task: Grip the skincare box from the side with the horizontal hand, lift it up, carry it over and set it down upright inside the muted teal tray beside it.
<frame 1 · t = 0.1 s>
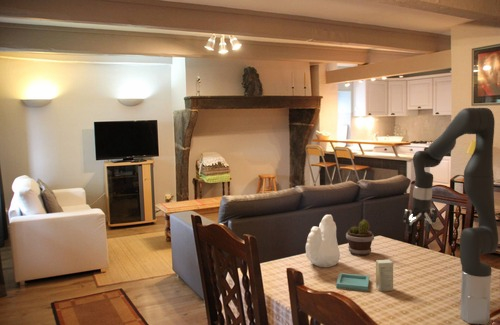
hand: (418, 231, 184), 22 cm above the table, tool pointing down, fingers open, 8 cm apart
skincare box: (384, 289, 178), on the table
teal tray: (353, 284, 184), on the table
flowerpot: (359, 253, 227), on the table
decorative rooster: (318, 266, 208), on the table
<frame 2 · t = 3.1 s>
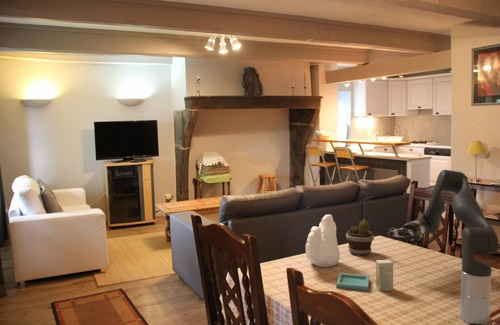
hand: (397, 237, 184), 20 cm above the table, tool horizontal, fingers open, 8 cm apart
nothing on the table moved.
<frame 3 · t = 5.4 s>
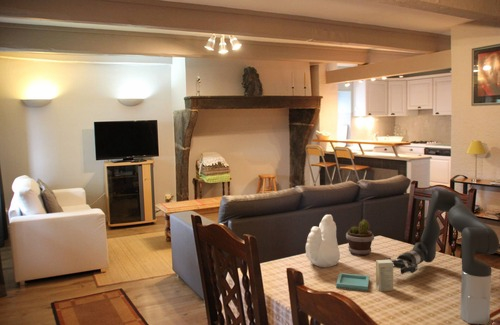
hand: (392, 269, 182), 7 cm above the table, tool horizontal, fingers open, 8 cm apart
nothing on the table moved.
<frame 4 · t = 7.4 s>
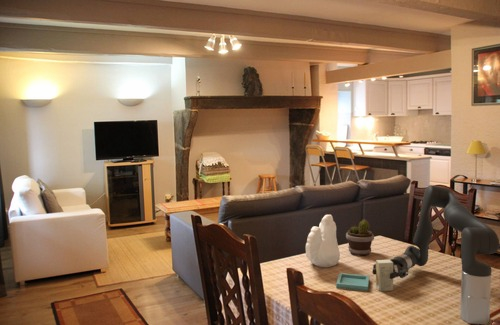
hand: (382, 274, 176), 7 cm above the table, tool horizontal, fingers closed on skincare box, 7 cm apart
skincare box: (384, 289, 178), on the table, touching gripper
everything else where it was.
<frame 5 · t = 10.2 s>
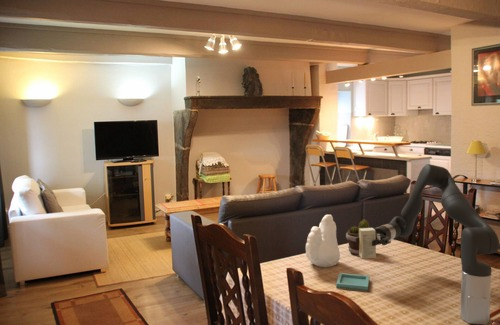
hand: (364, 241, 179), 20 cm above the table, tool horizontal, fingers closed on skincare box, 7 cm apart
skincare box: (367, 257, 181), point 13 cm above the table, touching gripper
everything else where it was.
when the fingers open (9 cm above the table, at t = 13.4 s): skincare box drops 1 cm, resting on teal tray.
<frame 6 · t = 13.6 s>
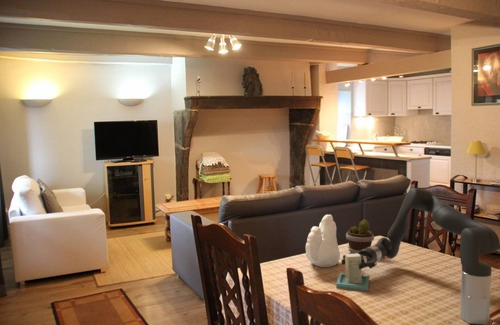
hand: (350, 264, 182), 9 cm above the table, tool horizontal, fingers open, 8 cm apart
skincare box: (352, 282, 184), point 1 cm above the table, touching teal tray
everything else where it was.
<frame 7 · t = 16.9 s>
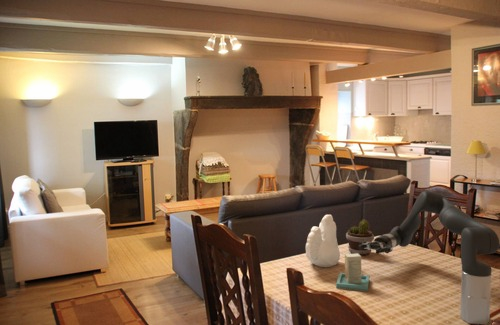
hand: (367, 249, 190), 13 cm above the table, tool horizontal, fingers open, 8 cm apart
nothing on the table moved.
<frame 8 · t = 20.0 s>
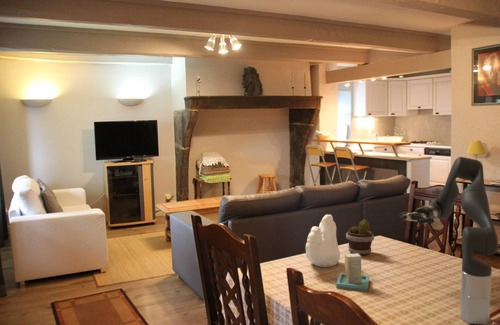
hand: (410, 220, 181), 28 cm above the table, tool horizontal, fingers open, 8 cm apart
nothing on the table moved.
at the end: skincare box inside the target area on the teal tray (0.2 cm from its centre), point 0.6 cm above the teal tray's base; skincare box tilted 0°; the gripper is holding nothing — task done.
